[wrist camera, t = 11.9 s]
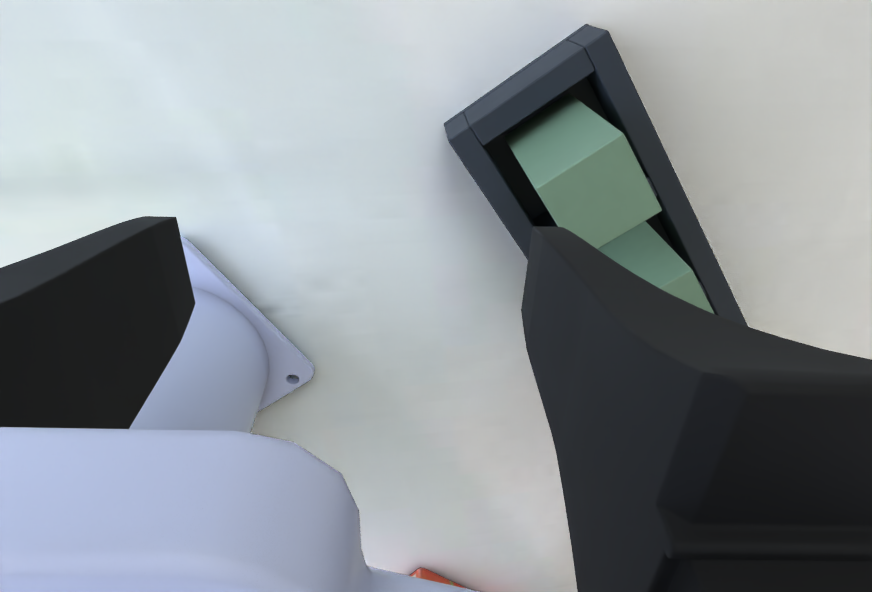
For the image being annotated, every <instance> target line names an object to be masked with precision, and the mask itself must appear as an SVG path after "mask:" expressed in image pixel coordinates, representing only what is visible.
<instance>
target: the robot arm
mask: <svg viewBox="0 0 872 592" xmlns="http://www.w3.org/2000/svg"><path fill="white" fill-rule="evenodd" d="M521 311H522V319H523V327H524V334H525V341H526V348H527V352H528V355H529V359H530V362H531V366H532V369H533V372H534V376H535V379H536V383H537V386H538V389H539V393H540V396H541V399H542V403H543V406H544V409H545V413H546V416H547V419H548V423H549V426H550V429H551V433H552V437H553V441H554V445H555V449H556V454H557V459H558V465H559V471H560V477H561V482H562V488H563V494H564V500H565V506H566V513H567V519H568V526H569V532H570V539H571V545H572V553H573V560H574V567H575V575H576V582H577V589H578V592H872V360H870V359H866V358H861V357H856V356H852V355H847V354H842V353H837V352H833V351H828V350H824V349H820V348H817V347H813V346H810V345H806V344H802V343H799V342H795V341H792V340H788V339H785V338H781V337H778V336H775V335H772V334H768V333H765V332H762V331H759V330H756V329H753V328H750V327H747V326H745V325H742V324H739V323H737V322H734V321H731V320H728V319H726V318H723V317H720V316H718V315H715V314H713V313H711V312H708V311H706V310H703V309H701V308H699V307H697V306H695V305H693V304H690V303H688V302H686V301H684V300H682V299H680V298H678V297H676V296H673V295H671V294H669V293H668V292H666V291H664V290H662V289H660V288H658V287H656V286H655V285H653V284H651V283H649V282H648V281H646V280H644V279H643V278H641V277H639V276H637V275H636V274H634V273H632V272H631V271H629V270H628V269H626V268H625V267H623V266H621V265H620V264H618V263H617V262H615V261H614V260H612V259H611V258H609V257H608V256H606V255H605V254H603V253H602V252H601V251H599V250H598V249H596V248H595V247H593V246H592V245H590V244H589V243H588V242H586V241H585V240H583V239H582V238H580V237H579V236H577V235H576V234H574V233H573V232H571V231H569V230H568V229H565V228H563V227H539V226H533V228H532V235H531V243H530V250H529V258H528V265H527V272H526V280H525V287H524V295H523V302H522V309H521ZM314 371H315V369H314V366H313V364H312V363H311V362H310V361H309V360H308V359H307V358H306V357H305V356H304V355H303V354H302V353H301V352H300V351H299V350H298V349H297V348H296V347H295V346H294V345H293V344H292V343H291V342H290V341H289V340H288V339H287V338H286V337H285V336H284V335H283V334H282V333H281V332H280V331H279V330H278V329H277V328H276V327H275V326H274V325H273V324H272V323H271V322H270V321H269V320H268V319H267V318H266V317H265V316H264V315H263V314H262V313H261V312H260V311H259V310H258V309H257V308H256V307H255V306H254V305H253V304H252V303H251V302H250V301H249V300H248V299H247V298H246V297H245V296H244V295H243V294H242V293H241V292H240V291H239V290H238V289H237V288H236V287H235V286H234V285H233V284H232V283H231V282H230V281H229V280H228V279H227V278H226V277H225V276H224V275H223V274H222V273H221V272H220V271H219V270H218V269H217V268H216V267H215V266H214V265H213V264H212V263H211V262H210V261H209V260H208V259H207V258H206V257H205V256H204V255H203V254H202V253H201V252H200V251H199V250H198V249H197V248H196V247H195V246H194V245H193V244H192V243H191V242H190V241H188V240H187V239H186V238H184V237H181V236H180V232H179V228H178V224H177V219H176V217H151V216H145V217H140V218H135V219H132V220H128V221H125V222H122V223H119V224H116V225H113V226H111V227H108V228H105V229H103V230H100V231H98V232H95V233H92V234H90V235H87V236H85V237H82V238H80V239H77V240H75V241H72V242H70V243H67V244H64V245H62V246H59V247H57V248H54V249H52V250H49V251H46V252H43V253H41V254H38V255H35V256H32V257H30V258H27V259H24V260H21V261H19V262H16V263H13V264H10V265H8V266H5V267H2V268H0V592H479V591H475V590H470V589H466V588H461V587H457V586H452V585H448V584H444V583H439V582H435V581H430V580H426V579H421V578H417V577H412V576H408V575H403V574H399V573H394V572H390V571H386V570H381V569H377V568H372V567H368V566H367V565H366V564H365V560H364V556H363V553H362V549H361V534H360V518H359V509H358V507H357V505H356V503H355V501H354V499H353V497H352V495H351V492H350V490H349V488H348V486H347V484H346V482H345V480H344V478H343V476H342V474H341V473H340V472H338V471H337V470H335V469H334V468H332V467H331V466H329V465H328V464H326V463H325V462H323V461H322V460H320V459H319V458H317V457H316V456H314V455H312V454H311V453H309V452H308V451H306V450H305V449H303V448H302V447H300V446H299V445H297V444H296V443H294V442H292V441H287V440H282V439H277V438H272V437H267V436H262V435H257V434H252V433H250V432H251V429H252V426H253V423H254V420H255V417H256V414H257V412H259V411H261V410H262V409H264V408H266V407H267V406H269V405H270V404H272V403H274V402H275V401H277V400H279V399H280V398H282V397H284V396H285V395H287V394H289V393H290V392H292V391H293V390H295V389H297V388H298V387H300V386H302V385H303V384H305V383H307V382H308V381H310V380H311V379H312V378H313V375H314ZM291 374H292V375H296V376H298V378H296V379H294V378H291V377H289V375H291Z"/></svg>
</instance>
